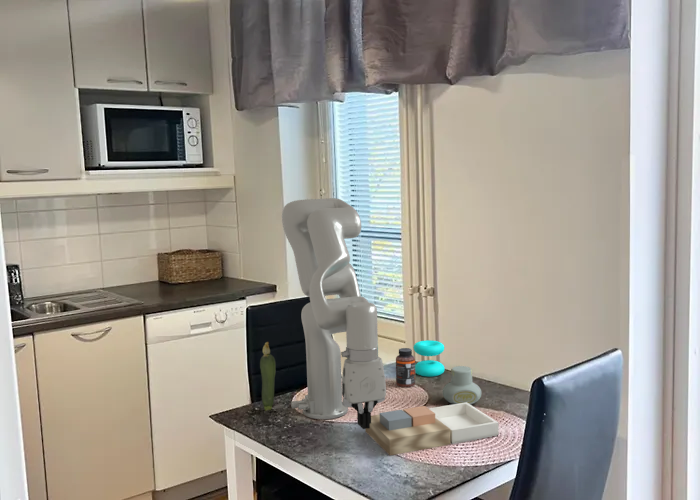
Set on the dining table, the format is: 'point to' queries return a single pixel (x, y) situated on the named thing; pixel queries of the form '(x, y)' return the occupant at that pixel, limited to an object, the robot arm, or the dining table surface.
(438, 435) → the board
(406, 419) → the tile
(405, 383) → the supplement bottle
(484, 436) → the box
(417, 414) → the tile
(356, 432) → the dining table surface
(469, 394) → the air freshener
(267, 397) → the vegetable
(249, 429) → the dining table surface
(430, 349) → the donuts
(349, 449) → the dining table surface
